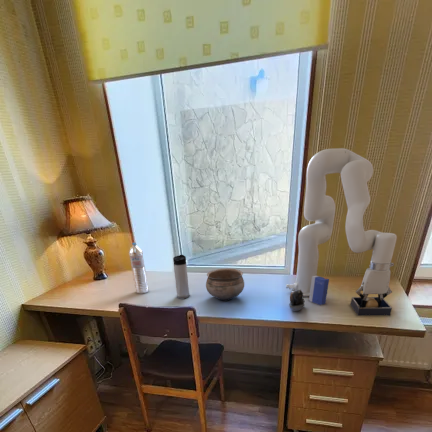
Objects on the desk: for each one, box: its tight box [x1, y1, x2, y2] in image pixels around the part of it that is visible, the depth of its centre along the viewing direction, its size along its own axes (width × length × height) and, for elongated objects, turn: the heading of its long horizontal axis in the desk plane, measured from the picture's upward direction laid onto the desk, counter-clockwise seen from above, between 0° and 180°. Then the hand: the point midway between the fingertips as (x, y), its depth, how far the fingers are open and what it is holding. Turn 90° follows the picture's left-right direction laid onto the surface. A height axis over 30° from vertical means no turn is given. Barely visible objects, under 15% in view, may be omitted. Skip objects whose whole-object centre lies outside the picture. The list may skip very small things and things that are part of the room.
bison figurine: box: [289, 289, 306, 312], centre depth 148 cm, size 12×7×10 cm, turn 170°
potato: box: [366, 296, 378, 307], centre depth 144 cm, size 5×8×5 cm, turn 175°
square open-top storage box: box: [349, 296, 393, 317], centre depth 145 cm, size 13×13×4 cm
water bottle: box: [128, 242, 149, 295], centre depth 172 cm, size 7×7×25 cm
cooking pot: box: [205, 268, 245, 301], centre depth 163 cm, size 25×19×12 cm
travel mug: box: [172, 254, 190, 300], centre depth 165 cm, size 6×7×20 cm
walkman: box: [308, 275, 330, 306], centre depth 153 cm, size 8×3×12 cm, turn 32°
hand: (369, 307), depth 145 cm, fingers closed on potato, 5 cm apart
